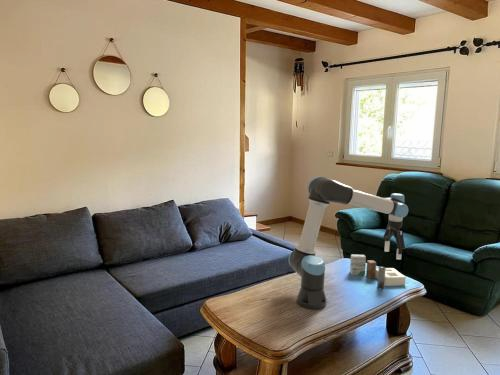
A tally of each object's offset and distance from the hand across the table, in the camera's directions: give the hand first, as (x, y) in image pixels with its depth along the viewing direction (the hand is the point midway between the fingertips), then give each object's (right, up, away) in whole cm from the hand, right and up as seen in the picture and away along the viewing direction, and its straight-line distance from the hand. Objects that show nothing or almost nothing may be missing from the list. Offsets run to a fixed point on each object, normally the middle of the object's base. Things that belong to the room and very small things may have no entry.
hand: (392, 255), depth 214 cm
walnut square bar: (-10, -15, +9) cm, 20 cm away
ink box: (-17, -14, +14) cm, 26 cm away
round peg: (-9, -17, -6) cm, 20 cm away
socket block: (0, -16, +4) cm, 16 cm away
